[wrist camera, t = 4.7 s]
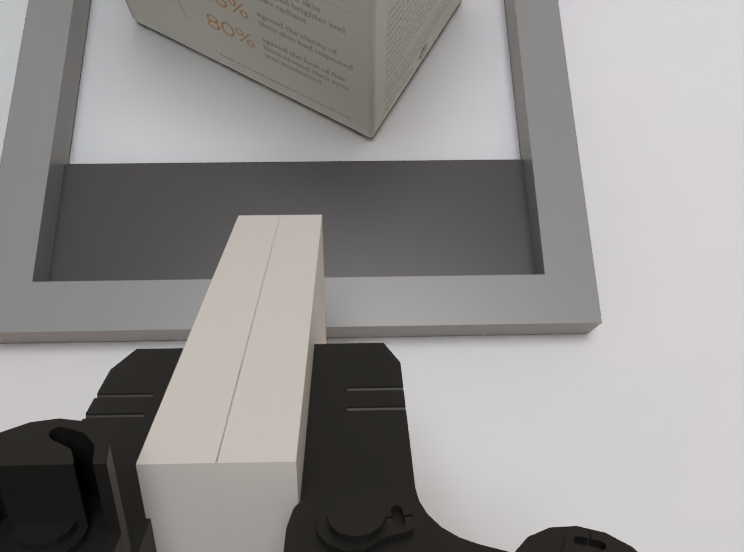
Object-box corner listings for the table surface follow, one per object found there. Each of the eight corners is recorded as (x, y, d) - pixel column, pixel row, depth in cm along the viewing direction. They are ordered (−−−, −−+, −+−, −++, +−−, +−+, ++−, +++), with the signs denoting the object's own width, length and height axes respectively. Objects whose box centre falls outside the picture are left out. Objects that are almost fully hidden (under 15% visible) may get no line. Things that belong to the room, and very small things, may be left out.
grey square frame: (-8, 343, 16) (-30, 333, 16) (70, -132, 21) (56, -162, 21) (587, 333, 17) (601, 322, 16) (528, -132, 22) (535, -161, 21)
